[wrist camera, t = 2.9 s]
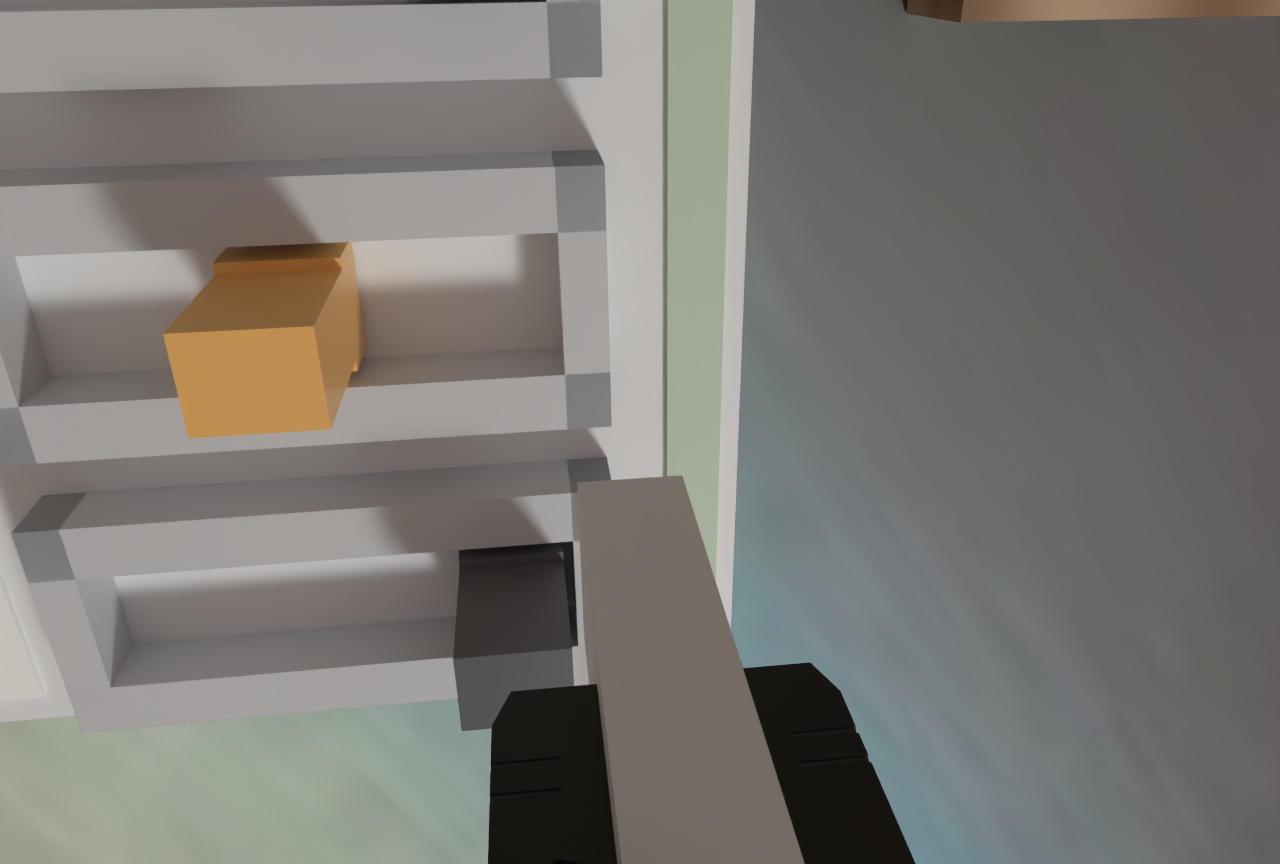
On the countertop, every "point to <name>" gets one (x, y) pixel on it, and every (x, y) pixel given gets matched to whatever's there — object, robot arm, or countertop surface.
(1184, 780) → the countertop surface
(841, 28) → the countertop surface
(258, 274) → the block
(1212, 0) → the wooden tray
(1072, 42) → the countertop surface
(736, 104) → the panel
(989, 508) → the countertop surface
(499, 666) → the block
